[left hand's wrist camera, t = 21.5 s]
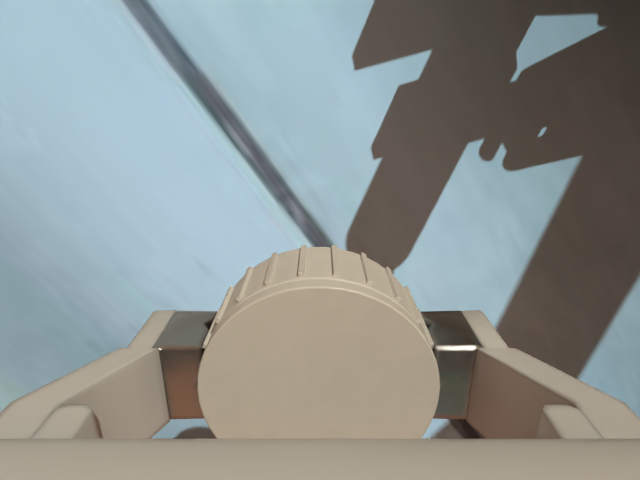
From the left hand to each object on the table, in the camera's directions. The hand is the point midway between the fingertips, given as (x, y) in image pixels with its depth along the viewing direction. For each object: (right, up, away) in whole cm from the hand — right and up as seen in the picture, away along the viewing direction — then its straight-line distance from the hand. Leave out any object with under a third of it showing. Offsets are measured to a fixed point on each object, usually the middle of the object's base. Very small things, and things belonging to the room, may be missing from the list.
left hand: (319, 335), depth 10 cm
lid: (0, -1, -2) cm, 2 cm away
